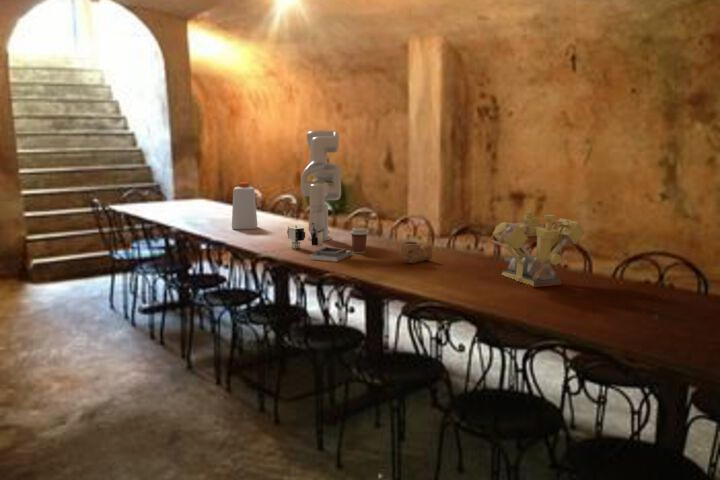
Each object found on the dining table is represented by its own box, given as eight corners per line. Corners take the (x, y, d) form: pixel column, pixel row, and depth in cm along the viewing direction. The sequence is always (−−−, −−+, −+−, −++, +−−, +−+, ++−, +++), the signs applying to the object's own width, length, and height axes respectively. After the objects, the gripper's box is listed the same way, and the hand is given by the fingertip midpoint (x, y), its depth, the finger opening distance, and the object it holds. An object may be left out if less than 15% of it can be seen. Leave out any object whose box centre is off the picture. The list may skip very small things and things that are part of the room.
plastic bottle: (233, 226, 385) (232, 181, 380) (257, 226, 387) (257, 181, 382) (231, 230, 370) (229, 183, 365) (256, 230, 372) (255, 183, 367)
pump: (314, 243, 314) (314, 228, 313) (324, 244, 312) (324, 229, 311) (309, 246, 309) (309, 230, 308) (320, 247, 307) (320, 231, 306)
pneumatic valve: (297, 250, 311) (297, 227, 309) (287, 246, 321) (286, 224, 319) (306, 249, 314) (306, 226, 312) (296, 245, 324) (296, 223, 322)
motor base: (325, 252, 308) (325, 245, 307) (351, 254, 303) (351, 247, 302) (309, 259, 291) (309, 252, 290) (337, 261, 286) (337, 254, 286)
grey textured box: (435, 261, 290) (435, 241, 288) (411, 266, 279) (412, 245, 277) (420, 258, 296) (421, 238, 294) (397, 263, 286) (397, 242, 284)
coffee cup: (356, 249, 316) (357, 226, 314) (371, 251, 311) (371, 228, 309) (346, 252, 309) (346, 228, 306) (361, 254, 303) (361, 230, 301)
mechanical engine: (521, 297, 230) (526, 217, 225) (467, 275, 263) (470, 205, 258) (600, 287, 246) (606, 213, 240) (539, 268, 279) (543, 202, 273)
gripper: (317, 205, 316) (317, 239, 320) (302, 210, 300) (303, 246, 304) (331, 206, 313) (330, 240, 317) (316, 211, 298) (316, 248, 302)
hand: (317, 243), depth 311 cm, fingers closed on pump, 5 cm apart
